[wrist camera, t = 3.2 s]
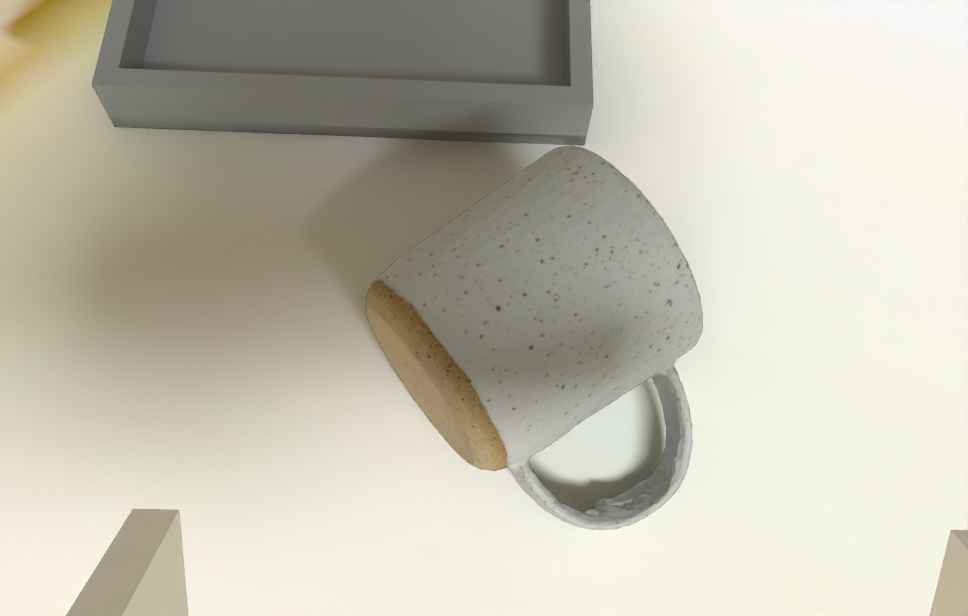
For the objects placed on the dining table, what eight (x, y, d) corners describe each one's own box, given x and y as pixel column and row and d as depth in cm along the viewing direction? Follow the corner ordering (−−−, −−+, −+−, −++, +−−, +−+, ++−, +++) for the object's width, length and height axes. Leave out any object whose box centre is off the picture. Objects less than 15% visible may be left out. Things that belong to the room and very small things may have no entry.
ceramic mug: (357, 344, 32) (334, 239, 25) (540, 220, 34) (565, 93, 27) (551, 597, 29) (588, 559, 22) (738, 442, 31) (825, 363, 24)
